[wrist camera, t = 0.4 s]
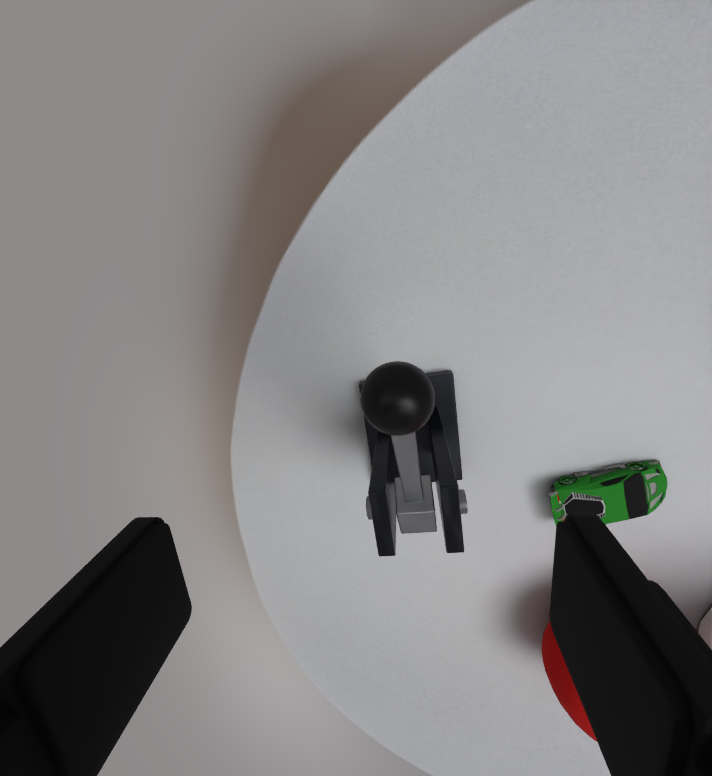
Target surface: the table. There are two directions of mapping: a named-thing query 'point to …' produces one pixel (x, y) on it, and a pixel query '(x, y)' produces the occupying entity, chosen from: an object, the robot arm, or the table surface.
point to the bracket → (434, 459)
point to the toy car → (610, 492)
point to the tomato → (563, 681)
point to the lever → (403, 435)
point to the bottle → (706, 628)
